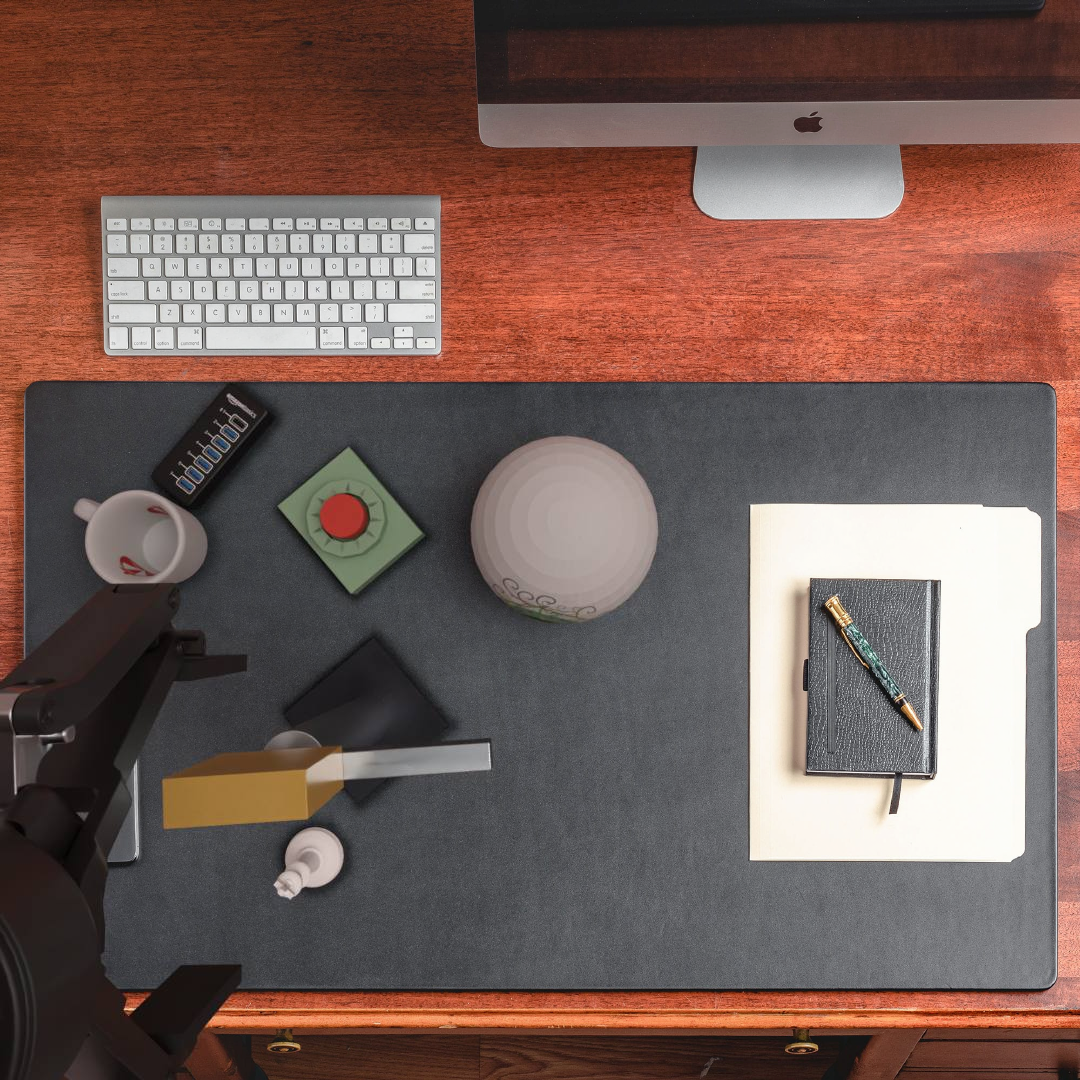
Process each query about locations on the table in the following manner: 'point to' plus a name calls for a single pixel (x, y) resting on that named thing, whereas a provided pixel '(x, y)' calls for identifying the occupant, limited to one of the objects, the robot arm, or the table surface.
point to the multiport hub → (213, 446)
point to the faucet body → (362, 711)
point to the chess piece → (310, 861)
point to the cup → (142, 538)
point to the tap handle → (301, 779)
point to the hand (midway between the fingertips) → (214, 815)
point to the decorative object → (564, 529)
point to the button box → (381, 536)
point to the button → (343, 516)
